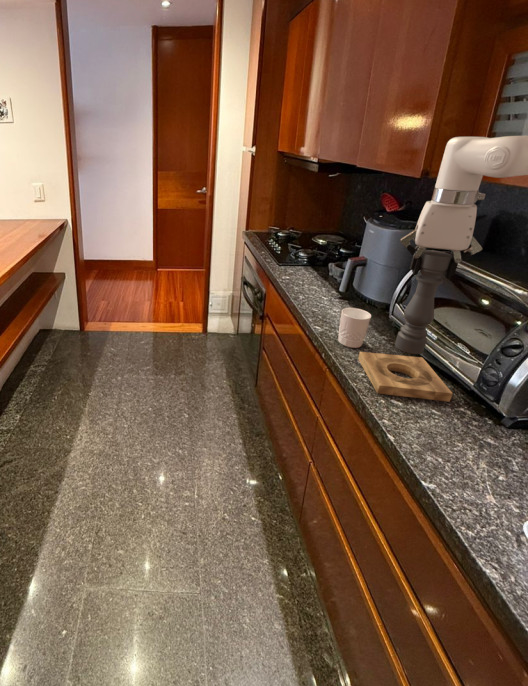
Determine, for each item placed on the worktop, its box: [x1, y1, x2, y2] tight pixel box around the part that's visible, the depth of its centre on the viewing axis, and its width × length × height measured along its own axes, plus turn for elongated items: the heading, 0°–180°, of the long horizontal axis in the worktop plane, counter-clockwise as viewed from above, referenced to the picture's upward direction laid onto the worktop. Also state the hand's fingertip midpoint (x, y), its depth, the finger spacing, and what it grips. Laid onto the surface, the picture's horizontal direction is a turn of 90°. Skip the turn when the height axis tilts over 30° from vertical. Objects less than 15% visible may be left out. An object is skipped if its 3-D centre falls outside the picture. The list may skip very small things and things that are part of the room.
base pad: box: [357, 351, 453, 403], centre depth 101 cm, size 16×16×2 cm
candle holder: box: [394, 249, 452, 355], centre depth 93 cm, size 6×6×25 cm
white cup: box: [337, 307, 372, 349], centre depth 117 cm, size 8×8×10 cm
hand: (430, 274), depth 91 cm, fingers closed on candle holder, 5 cm apart
